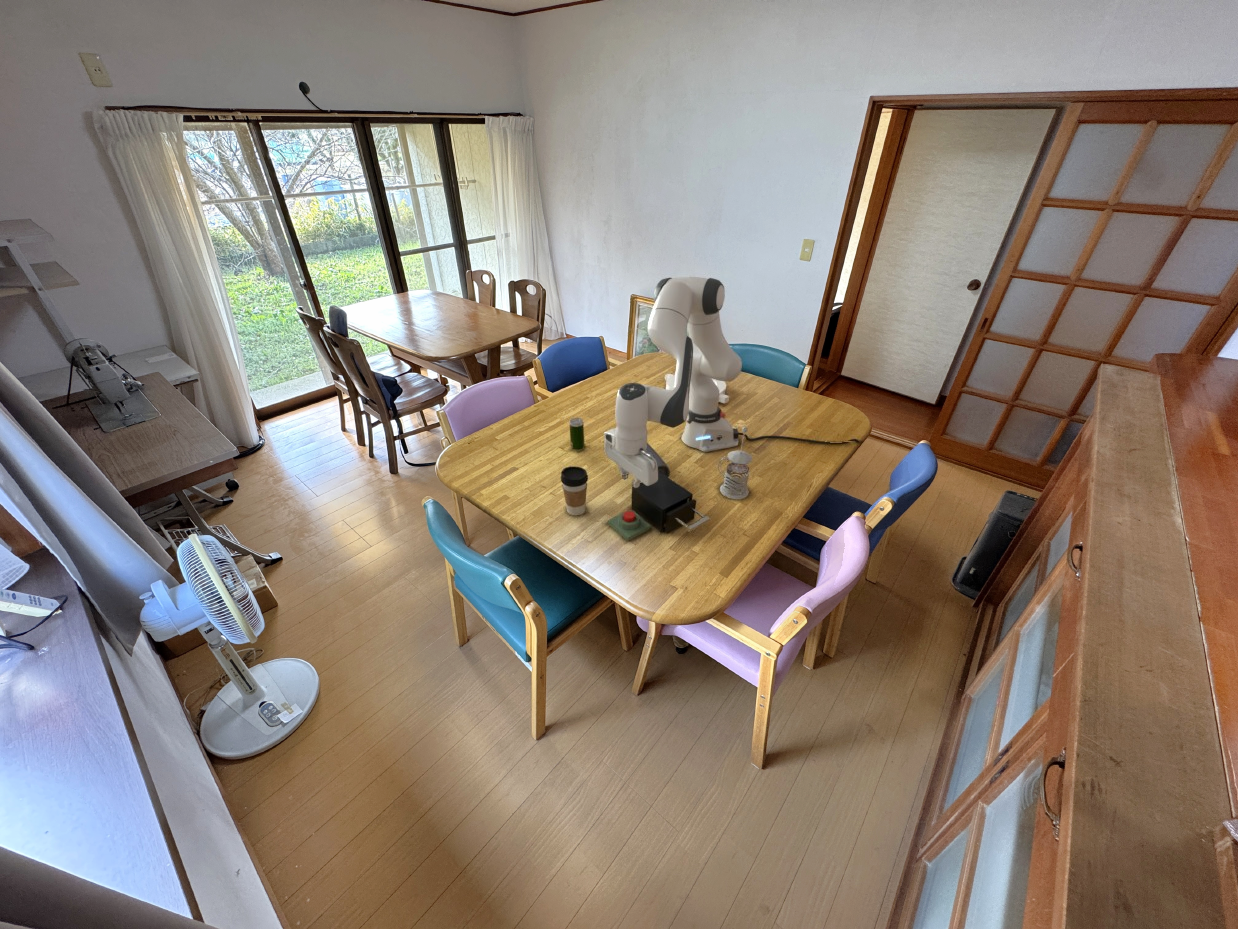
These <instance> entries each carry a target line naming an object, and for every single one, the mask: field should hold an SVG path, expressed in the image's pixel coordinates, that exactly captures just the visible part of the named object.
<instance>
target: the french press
mask: <svg viewBox="0 0 1238 929" xmlns="http://www.w3.org/2000/svg"><path fill="white" fill-rule="evenodd" d="M748 430H749V428H748V427H746V426H743V427H742V428H741V432H742V433H744V434H746V433H747V432H748ZM744 438H745V436H744V435H743V436H742V442H741V448H740V450H732V451H730V452H728V453H727V455H724V456H722V458H721V459H720V460H719V461H718V463H717V470H718V473H719V474H720V475H721V476H722V477H723V482H722V484H721V485H720V487H719V491H720V493H721V494H722V496H724V497H726V498H728V499H730V500H731V499H732V500H742V499H745V498H747V497H748V496H749V493H750V492H749V489H748V482H749V477H750V467H749V464H750V463H752V461H753V455H751V454H750V453H748V452H747V451H744V450H743V444H744ZM722 460H726V462H729V461H730V462H729V463H728V464H727V466H726V471H724V470H723V469H722V465H721V464H722ZM719 467H720V468H719ZM721 471H722V472H721ZM722 473H723V474H724V475H723V474H722Z"/></svg>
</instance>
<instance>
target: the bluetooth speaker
mask: <svg viewBox="0 0 1238 929" xmlns="http://www.w3.org/2000/svg"><path fill="white" fill-rule="evenodd" d="M646 451H647V452H648V453H650V454H652V455H653V458H654V459H655V460H656V462H657V467H658V474H660V473H662V474H664V475H665V476H667V477H668V478H670V475H671V471H670V468H669V466H668V465H667V463H666V462H665V461H664V460H663V458H662V457H661V456H660V455H659V454H658V452H657V451H656V450H655V449H654V448H653V447H652V446H651V445H650V444H649V442H647V448H646Z"/></svg>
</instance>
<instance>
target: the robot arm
mask: <svg viewBox="0 0 1238 929" xmlns="http://www.w3.org/2000/svg"><path fill="white" fill-rule="evenodd" d="M725 290H726V289H725V286H724V284H723V283H722V281H721V280H720V279H717V278H714V277H708V278H706V277H700V276H687V277H686V276H685V277H683V276H682V277H674V278H673V277H665V278H662V279H660V280H659V281H658V282H657V284H656V285H655V287H654V291H653V302H654V304H653V306H652V309H651V313H650V316H649V319H648V323H647V334H648V337H649V339H650V340H651V342H652V343H653V345H654V346H656V347H657V348H658V349H659V350H661V351H662V352H665V353H666V354H667V355H668V356H669V355H670V356H671V357H672V358H673V359H674V360H676V368H675V374H676V375H675V384H674V388H672V389H666V388H662V387H657V386H652V385H649V384H642V383H638V382H629V383H628V382H627V383H625V384H623V385H621V386H620V387H619V389H618V391H617V395H616V399H615V407H614V408H615V409H614V419H615V420H614V421H615V424H616V426H615V427H614V428H611V429H608V430H606V431H604V433H603V437H604V441H603V442H604V445H603V446H604V454H605V456H606V457H607V458H608V459H609V460H611V461H612V462H613V463H615V464H616V465H617V467H618V470H619V472H620V478H621V479H622V480H624V481H625V480H627V479H629V475H631V476H632V477H633V479H634V480H631V487H632V486H633V487H635V488H637V487H639V486H640V483H641V482H642V483H644V484H645V485H647V486H649V485H652V484H654V483H655V482H657V481H658V467H657V462H656V460H655V459H654V458H653V455H652V454H650V453H648V452H647V451H646V448H647V443H648V428H647V424H648V422H652V423H655V424H660V425H663V426H665V427H669V428H671V429H674V428H677V427H679V426H681V425H683V424H684V423H685V422H686V423H685V427H684V429H683V433H682V435H681V441H682V443H683V444H684V445H686V446H688V447H690V448H693V449H698V450H699V451H701V452H704V453H707V452H708V453H709V452H713V451H719V450H723V449H729V448H734V447H738V445H739V436H741V437H743V435H744V438H745V439H746V441H749V442H752V441H753V442H754V441H759V440H762V439H783V440H792V441H799V442H806V443H814V444H823V445H824V444H825V445H845V444H849V443H850V442H844V441H841V442H842V443H830V442H831V441H827V442H825V441H824V440H815V439H807V438H799V437H794V436H793V437H792V436H786V435H785V436H784V435H761V436H758V437H753V438H750V437H749V436H748V434H746V433H744V432H739V430H738V428H736V427H735V428H733V425H732V424H731V423H730V422H729V420H728V419H726V416H727V414H726V413H725V411H723V410H722V409H721V407H719V402H718V401H719V389H718V387H717V385H716V384H715V383H714V382H713V380H712V379H715V380H719V381H724V382H733V381H735V380H736V379H737V378H738V377H739V376H740V374H741V372H742V369H743V368H742V367H743V361H742V359H741V357H740V356H739V354H737V353H736V352H735V351H734V350H733V349H732V347H731V345H730V344H729V343H728V341H727V340H726V337H725V336H724V333H723V330H722V323H721V317H720V311H721V310H722V308H723V306H724V302H725V298H726V292H725ZM689 391H690V396H689ZM847 441H852V442H856V443H858V444H859V443H860V441H859V439H857V438H851V439H847Z"/></svg>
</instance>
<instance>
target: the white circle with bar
mask: <svg viewBox="0 0 1238 929" xmlns="http://www.w3.org/2000/svg"><path fill="white" fill-rule="evenodd" d="M675 375H676V373H674V374H672V373H670V372H669V373H667V374H665V375H664V380H665V381H666V382H665V389H672V388H674V384H675ZM712 380H713V382H714V383H715V384H716V385H717V387H718V389H719V401H718V403H721V404H723V405H724V404H726V403H729V400H730V396H729V395H727V394H726V390H727V383H726V381H719V380H715V379H712ZM689 396H690V391H689Z"/></svg>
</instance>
